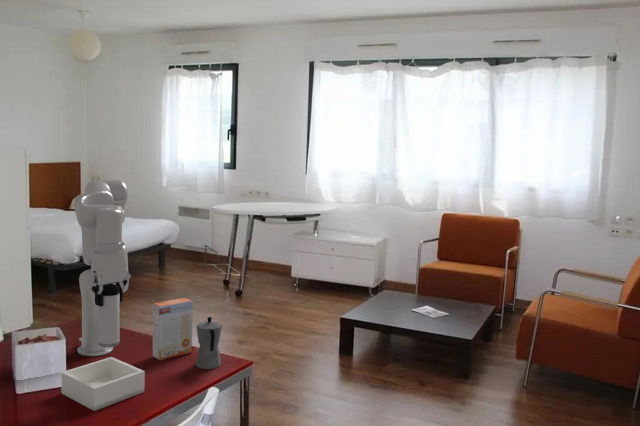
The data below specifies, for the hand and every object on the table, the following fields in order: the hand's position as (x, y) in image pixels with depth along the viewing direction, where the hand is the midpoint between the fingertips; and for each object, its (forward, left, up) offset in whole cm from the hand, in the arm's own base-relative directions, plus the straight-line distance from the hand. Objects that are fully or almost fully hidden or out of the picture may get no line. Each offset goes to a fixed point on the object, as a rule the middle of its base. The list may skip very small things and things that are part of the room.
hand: (108, 302), depth 183 cm
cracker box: (-10, +34, -30) cm, 47 cm away
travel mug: (0, 0, -14) cm, 14 cm away
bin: (0, -2, -29) cm, 29 cm away
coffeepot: (+8, +36, -30) cm, 48 cm away
